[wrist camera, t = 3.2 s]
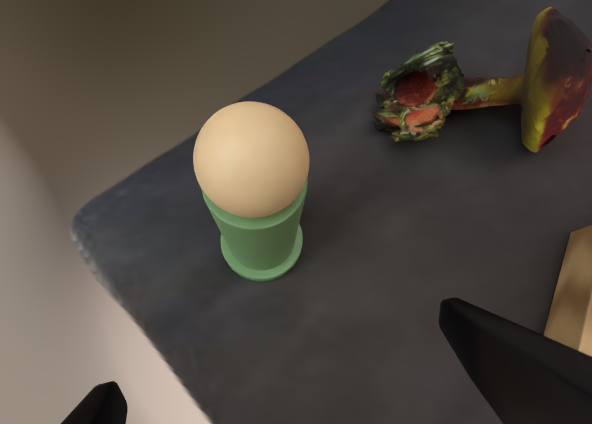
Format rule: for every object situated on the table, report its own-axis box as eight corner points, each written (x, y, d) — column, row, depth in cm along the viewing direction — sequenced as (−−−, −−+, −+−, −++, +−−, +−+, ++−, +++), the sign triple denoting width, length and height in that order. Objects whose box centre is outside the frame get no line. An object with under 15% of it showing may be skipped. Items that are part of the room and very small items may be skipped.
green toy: (268, 298, 21) (260, 247, 9) (205, 247, 22) (115, 134, 10) (317, 235, 23) (369, 117, 11) (257, 191, 24) (240, 36, 12)
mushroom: (397, 179, 35) (567, 186, 27) (357, 131, 25) (614, 118, 16) (414, 82, 37) (580, 60, 28) (384, 0, 26) (630, -73, 18)
